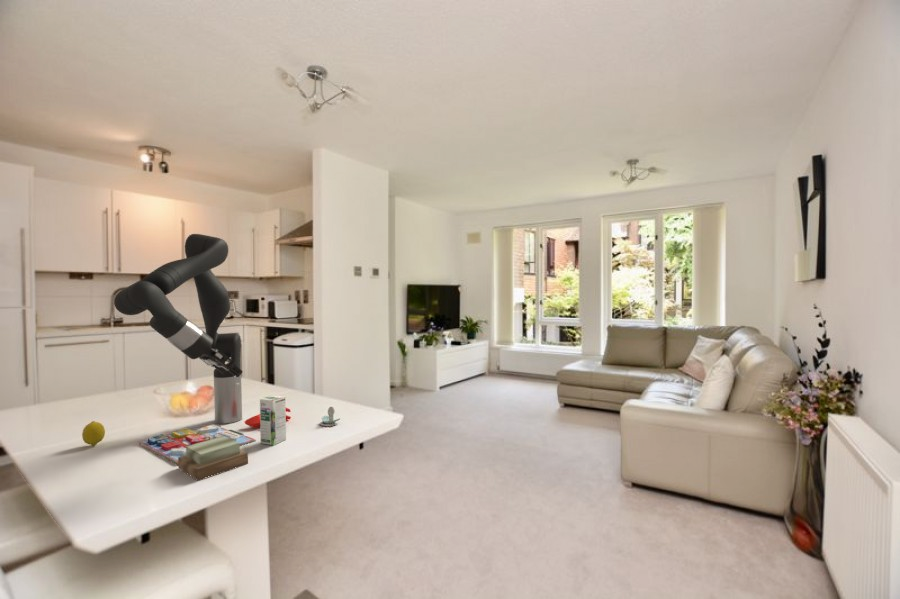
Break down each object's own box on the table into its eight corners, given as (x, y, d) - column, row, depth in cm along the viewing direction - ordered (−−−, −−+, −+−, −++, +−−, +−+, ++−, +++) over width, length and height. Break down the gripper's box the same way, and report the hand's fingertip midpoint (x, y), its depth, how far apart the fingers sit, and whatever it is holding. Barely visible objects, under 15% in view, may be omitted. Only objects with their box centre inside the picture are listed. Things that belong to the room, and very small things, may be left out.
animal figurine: (240, 428, 149) (239, 414, 149) (278, 417, 161) (278, 404, 161) (257, 434, 142) (256, 419, 142) (296, 422, 154) (295, 408, 154)
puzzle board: (256, 442, 135) (256, 434, 135) (178, 468, 116) (177, 458, 116) (212, 426, 153) (212, 419, 153) (138, 446, 134) (138, 437, 134)
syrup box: (259, 443, 132) (258, 398, 132) (273, 437, 138) (272, 394, 138) (273, 445, 130) (272, 400, 130) (287, 439, 136) (286, 395, 136)
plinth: (178, 468, 115) (177, 446, 115) (227, 453, 125) (226, 433, 125) (198, 480, 107) (197, 457, 107) (248, 463, 117) (247, 442, 117)
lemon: (80, 450, 129) (79, 425, 129) (85, 444, 134) (85, 420, 134) (102, 447, 132) (101, 422, 132) (107, 441, 137) (106, 417, 137)
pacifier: (330, 428, 147) (342, 423, 152) (329, 411, 146) (341, 406, 152) (315, 425, 150) (328, 420, 155) (315, 409, 150) (327, 404, 155)
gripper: (210, 329, 112) (253, 365, 122) (189, 327, 121) (231, 361, 130) (189, 351, 108) (235, 386, 118) (169, 347, 117) (213, 380, 126)
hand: (233, 373), depth 124 cm, fingers open, 8 cm apart
